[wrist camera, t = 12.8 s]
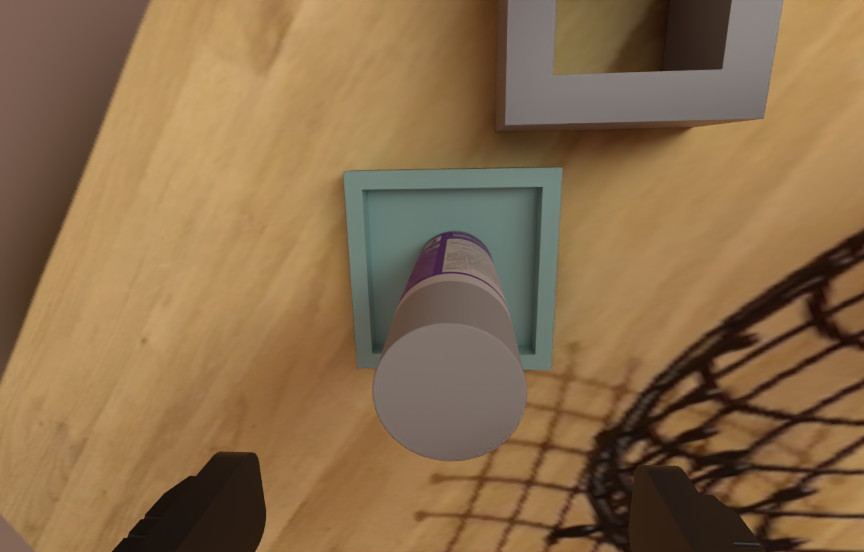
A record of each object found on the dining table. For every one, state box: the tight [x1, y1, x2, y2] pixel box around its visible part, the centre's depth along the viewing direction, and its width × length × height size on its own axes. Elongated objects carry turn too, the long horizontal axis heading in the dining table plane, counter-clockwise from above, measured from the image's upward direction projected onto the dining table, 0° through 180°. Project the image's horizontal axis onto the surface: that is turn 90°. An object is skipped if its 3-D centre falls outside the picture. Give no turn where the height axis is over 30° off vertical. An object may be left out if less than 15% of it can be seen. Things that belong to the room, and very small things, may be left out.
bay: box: [495, 0, 783, 132], centre depth 21 cm, size 11×11×6 cm
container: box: [373, 231, 527, 461], centre depth 20 cm, size 5×5×15 cm
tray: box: [343, 167, 563, 370], centre depth 27 cm, size 12×12×2 cm
